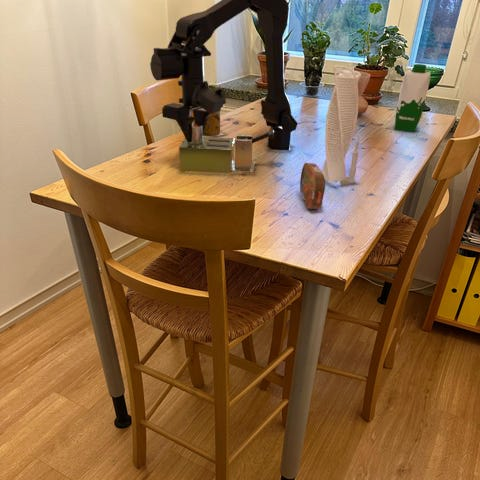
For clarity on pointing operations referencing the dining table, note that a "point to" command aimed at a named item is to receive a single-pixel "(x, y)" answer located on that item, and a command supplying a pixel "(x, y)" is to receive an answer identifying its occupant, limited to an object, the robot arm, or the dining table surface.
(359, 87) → the ceramic jug
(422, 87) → the milk carton
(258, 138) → the toaster lever
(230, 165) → the toaster
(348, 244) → the dining table surface
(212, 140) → the toaster slots
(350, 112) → the skyscraper
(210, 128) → the condiment
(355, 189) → the dining table surface
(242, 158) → the lever bracket
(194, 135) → the translucent cup
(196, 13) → the robot arm
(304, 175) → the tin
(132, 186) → the dining table surface
